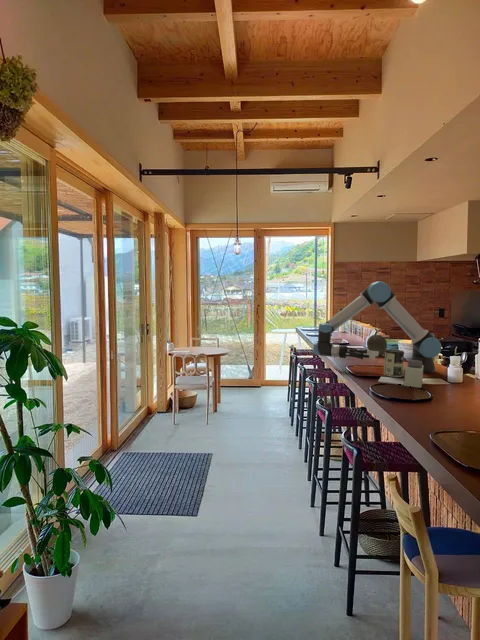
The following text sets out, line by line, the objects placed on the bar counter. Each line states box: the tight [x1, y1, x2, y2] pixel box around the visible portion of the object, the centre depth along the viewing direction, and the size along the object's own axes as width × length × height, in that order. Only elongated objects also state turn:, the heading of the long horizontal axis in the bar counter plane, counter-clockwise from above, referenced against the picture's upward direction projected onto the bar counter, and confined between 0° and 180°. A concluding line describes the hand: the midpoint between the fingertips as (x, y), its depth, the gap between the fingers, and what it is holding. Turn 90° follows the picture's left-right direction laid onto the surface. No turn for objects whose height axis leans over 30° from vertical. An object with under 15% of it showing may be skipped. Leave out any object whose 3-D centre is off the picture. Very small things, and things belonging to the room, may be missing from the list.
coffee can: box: [383, 348, 405, 378], centre depth 253 cm, size 10×10×14 cm
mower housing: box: [377, 359, 424, 389], centre depth 235 cm, size 21×16×12 cm
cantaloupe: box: [366, 334, 388, 357], centre depth 325 cm, size 14×14×15 cm
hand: (377, 355), depth 256 cm, fingers open, 13 cm apart
